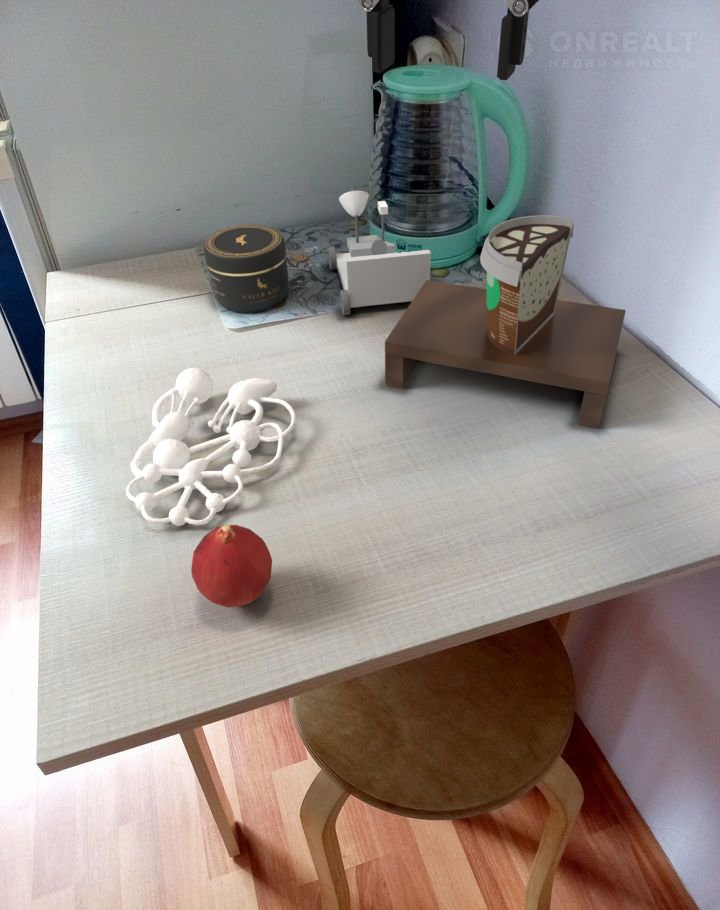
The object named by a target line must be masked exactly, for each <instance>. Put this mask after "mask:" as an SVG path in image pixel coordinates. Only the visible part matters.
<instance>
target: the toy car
mask: <svg viewBox="0 0 720 910" xmlns="http://www.w3.org/2000/svg"><path fill="white" fill-rule="evenodd" d="M369 197H370V196H369V192H367V191H364V190H355V186H351V187H350V191H346V192H344V193H342V194H341V195H340V196H339V198H338V201H339V203H340V204H341V206H342V207H343V209H344V211H346V213H347V214H349V216H350V217H353V218H354V226H355V227H354V228H355V229H354V231H355V236H352V237H351V236H350V237H346V246H347V249H348V252H344V253H337V250H336V247H335V246H329V247H328V248H327V254H328V263H329V264H328V265H329V269H330V270H331V271H336V270H337V272H338V275H339V278H340V282H341V285H342V289H340V291H339V298H340V299H339V300H340V307H341V309H340V310H341V313H342V316H349V315H351V309H352V308H361V307H368V306H369V307H370V306H378V305H389V304H398V303H406V302H407V303H409V302H412V301H413V299H414V298H415V296H416V295H417V293H418V292H419V290H420V289H421V287H422V286H423V285H424V283H425V282H426V280H430V281H431V266H432V265H431V264H432V263H431V261H432V260H431V259H432V252H431V250H430V249H422V250H416V251H411V252H401V253H398V252H395V248H396V244H395V243H394V244H393V243H390V242H387V241H385V234H386V232H385V215H389V205H388V204H387V202H386V200H379V201H377V211H378V213H379V215H380V216H381V218H380V219H381V221H380V224H381V234H382V239H381V238H380V237H378V236H377V235H378V234H371V235H370V234H369V235H362V236H361V235H360V236H359V217H360V216H361V215H362V214H363V213H364V211H365V208H366V207H367V204H368V201H369Z"/></svg>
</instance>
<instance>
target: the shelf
mask: <svg viewBox="0 0 720 910" xmlns="http://www.w3.org/2000/svg"><path fill="white" fill-rule="evenodd" d="M486 306H487V288H484V287H483V288H481V287H476V286H469V285H462V284H457V283H456V284H455V283H449V282H442V281H435V280H431V279H430V280H426V282H425V283H424V285H423V286H422V287H421V289H420V290H419V292H418V293H417V295H416V296H415V298H414V299H413V301H410V304H409V305H408V307H407V308H406V309H405V311H404V313H403V314H402V315H401V317H400V318H399V320H398V322H397V323H396V324H395V326H394V328H392V329H391V332H390V333H389V335H387V337H386V339H385V341H384V385H385V387H389V388H393V389H398V390H399V389H400V390H404V388H405V386H407V383H408V381H409V380H410V378H411V376H412V375H413V373H414V371H415V369H416V368H417V366H418V364H419V363H420V362H421V361H422V362H427V363H430V364H431V363H432V364H437V365H442V366H447V367H454V368H457V369H463V370H470V371H474V372H479V373H484V374H490V375H495V376H502V377H506V378H511V379H517V380H523V381H528V382H533V383H538V384H543V385H550V386H554V387H560V388H565V389H570V390H576V391H580V392H581V391H582V392H583V396H582V402H581V406H580V410H579V415H578V420H577V425H578V426H582V427H583V426H584V427H589V428H593V429H599V428H600V425H601V420H602V415H603V411H604V407H605V403H606V400H607V395H608V392H609V387H610V384H611V379H612V374H613V369H614V364H615V361H616V356H617V351H618V347H619V343H620V338H621V334H622V329H623V324H624V320H625V315H626V309H621V308H615V307H608V306H603V305H601V306H600V305H595V304H588V303H583V302H582V303H581V302H575V301H568V300H562V299H558V300H557V305H556V310H555V315H554V316H553V317H552V318H551V319H550V320H549V321H548V322H547V323H546V324H545V325H544V326H543V327H542V328H541V329H540V330H539V331H538V332H537V333H536V334H535V335H534V336H533V337H532V338H531V339H530V340H529V341H528V342H527V343H526V344H525V345H524V346H523V347H522V348H521V349H520V350H519V351H518V352H517V353H516V354H515V355H512V354H509V353H507V352H505V351H503V350H501V349H499V348H498V347H496V346H495V345H494V344H493V343H492V342H491V341H490V340H489V338H488V336H487V332H486Z"/></svg>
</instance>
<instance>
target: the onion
mask: <svg viewBox="0 0 720 910" xmlns="http://www.w3.org/2000/svg"><path fill="white" fill-rule="evenodd" d="M272 567H273V558H272V555H271V552H270V550H269V547H268V546H267V543H266V542H265V541H264V539H263V538H262V537H261V536H260V535H258V534H257V533H256V532H254V531H253V530H252V529H250V528H248V527H245V526H241V525H238V524H224V525H220V526H216V527H215V528H213V529H212V530H211V531H209V532H207V533H206V534H205V535H204V536H203V537H202V538H201V540H200V541H199V542H198V544H197V546H196V547H195V549H194V551H193V553H192V560H191V570H190V572H191V577H192V580H193V582H194V584H195V586H196V588H197V590H198V591H199V593H200V595H202V597H204V598H206V599H207V600H208V601H209V602H211V603H212V604H215V605H218V606H221V607H225V608H239V607H243V606H245V605H248V604H250V603H251V604H252V602H254V601H255V600H256V599H258V598H259V597H260V596H261V595H263V593H264V590H265V589H266V588H267V585H268V584H269V582H270V581H271V577H272Z"/></svg>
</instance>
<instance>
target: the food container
mask: <svg viewBox="0 0 720 910" xmlns="http://www.w3.org/2000/svg"><path fill="white" fill-rule="evenodd" d="M574 221H575V219H574V218H572V217H567V216H560V215H559V216H558V215H527V216H521V217H520V216H519V217H515V218H511V219H508V220H506V221H505V220H504V221H503V222H501V223H499V224H497V225H495V226H494V227H493V228H492V229H491V230H490V232H489V233H488V236H487V237H486V239H485V240H484V243H483V245H482V249H481V253H480V257H479V261H480V265H481V266H482V269H484V270H485V271H486V289H487V306H486V332H487V336H488V338H489V340H490V341H491V342H492V343H493V344H494V345H495V346H496V347H498V348H499V349H501V350H503V351H505V352H507V353H509V354H512V355H515V354H516V353H517V352H518V351H519V350H520V349H521V348H522V347H523V346H524V345H525V344H526V343H527V342H528V341H529V340H530V339H531V338H532V337H533V336H534V335H535V334H536V333H537V332H538V331H539V330H540V329H541V328H542V327H543V326H544V325H545V324H546V323H547V322H548V321H549V320H550V319H551V318H552V317H553V316H554V315H555V310H556V305H557V300H559V295H560V290H561V285H562V281H563V275H564V270H565V265H566V260H567V256H568V251H569V247H570V241H571V239H573V237H574V229H575V228H574V227H575V224H574Z"/></svg>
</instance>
